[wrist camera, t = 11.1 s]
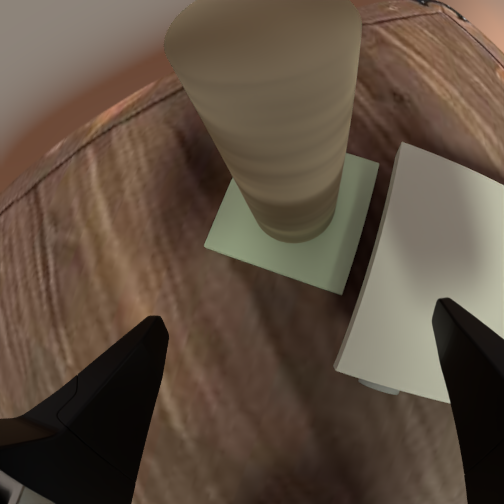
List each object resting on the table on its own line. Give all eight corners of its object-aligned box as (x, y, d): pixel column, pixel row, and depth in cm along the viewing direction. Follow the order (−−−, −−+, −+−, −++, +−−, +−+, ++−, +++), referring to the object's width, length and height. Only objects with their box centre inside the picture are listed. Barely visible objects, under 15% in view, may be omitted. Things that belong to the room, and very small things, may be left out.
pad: (341, 295, 17) (341, 294, 17) (206, 248, 19) (203, 246, 19) (378, 167, 19) (379, 163, 18) (255, 133, 21) (254, 129, 20)
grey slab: (523, 418, 13) (554, 430, 9) (326, 368, 17) (331, 380, 13) (560, 246, 15) (591, 232, 11) (388, 167, 19) (402, 134, 15)
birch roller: (350, 219, 18) (404, 43, 5) (274, 258, 18) (198, 120, 6) (310, 153, 19) (295, -34, 7) (239, 187, 19) (147, 20, 7)
